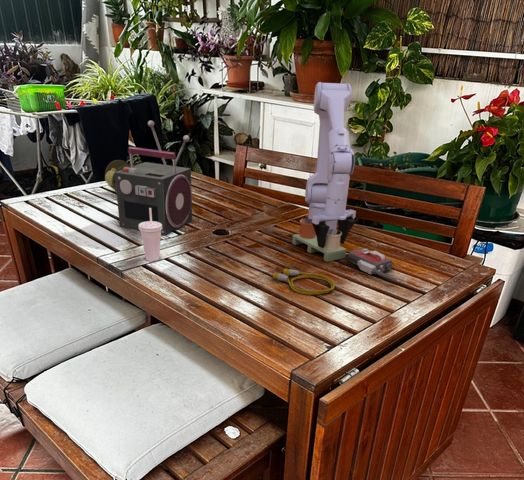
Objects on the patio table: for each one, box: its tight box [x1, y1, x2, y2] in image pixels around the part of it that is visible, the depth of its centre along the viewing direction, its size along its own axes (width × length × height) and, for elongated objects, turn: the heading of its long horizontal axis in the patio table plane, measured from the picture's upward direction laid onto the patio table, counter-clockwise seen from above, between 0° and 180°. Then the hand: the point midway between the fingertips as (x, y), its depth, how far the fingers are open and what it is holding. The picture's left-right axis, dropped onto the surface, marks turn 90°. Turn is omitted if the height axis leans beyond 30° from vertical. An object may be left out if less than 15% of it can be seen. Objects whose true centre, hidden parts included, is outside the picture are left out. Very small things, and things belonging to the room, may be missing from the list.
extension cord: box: [272, 267, 336, 296], centre depth 134 cm, size 12×16×2 cm
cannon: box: [104, 159, 131, 192], centre depth 199 cm, size 25×12×11 cm, turn 119°
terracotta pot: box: [298, 218, 316, 239], centre depth 157 cm, size 6×6×5 cm
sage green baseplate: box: [291, 233, 347, 263], centre depth 155 cm, size 7×17×3 cm, turn 34°
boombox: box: [114, 120, 193, 236], centre depth 163 cm, size 18×21×30 cm
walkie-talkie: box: [344, 247, 397, 282], centre depth 143 cm, size 9×4×20 cm
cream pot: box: [324, 229, 342, 250], centre depth 149 cm, size 6×6×5 cm
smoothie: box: [138, 208, 162, 262], centre depth 141 cm, size 6×6×14 cm
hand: (331, 244), depth 150 cm, fingers open, 7 cm apart
